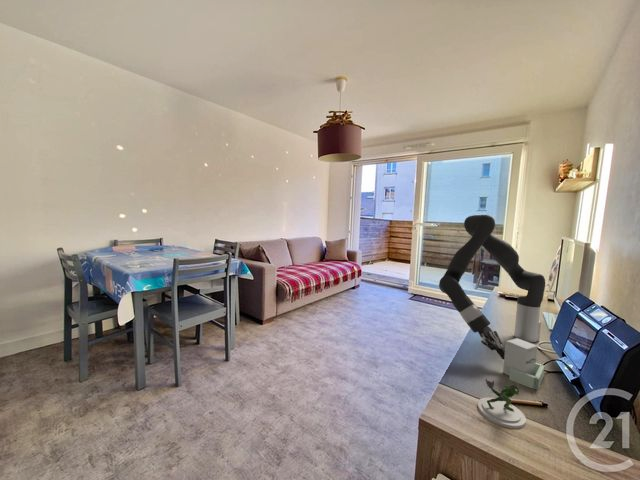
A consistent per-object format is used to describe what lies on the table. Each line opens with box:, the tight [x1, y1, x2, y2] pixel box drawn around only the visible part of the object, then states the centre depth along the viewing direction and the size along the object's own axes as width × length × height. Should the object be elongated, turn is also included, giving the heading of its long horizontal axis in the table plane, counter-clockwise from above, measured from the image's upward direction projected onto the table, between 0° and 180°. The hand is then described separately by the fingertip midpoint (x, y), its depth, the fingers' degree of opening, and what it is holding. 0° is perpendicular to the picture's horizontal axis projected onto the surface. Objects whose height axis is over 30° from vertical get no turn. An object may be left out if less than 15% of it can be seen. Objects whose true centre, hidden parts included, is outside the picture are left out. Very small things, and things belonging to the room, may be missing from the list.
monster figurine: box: [477, 378, 527, 429], centre depth 82 cm, size 12×12×10 cm
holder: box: [508, 362, 546, 391], centre depth 101 cm, size 8×13×4 cm, turn 134°
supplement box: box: [502, 337, 538, 376], centre depth 102 cm, size 7×7×13 cm
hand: (506, 358), depth 106 cm, fingers closed
